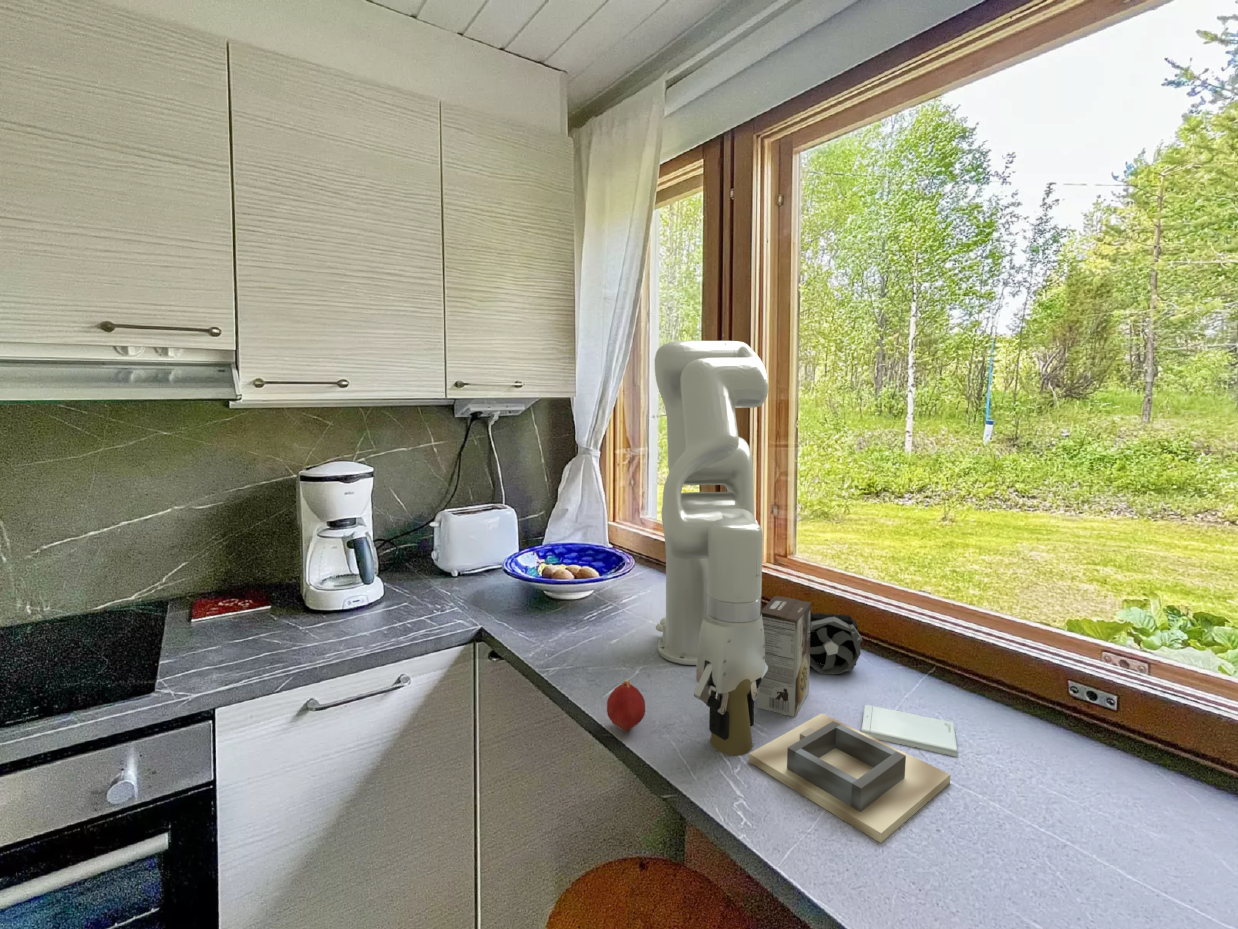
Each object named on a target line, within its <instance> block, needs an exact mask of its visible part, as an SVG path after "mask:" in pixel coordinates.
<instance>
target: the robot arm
mask: <svg viewBox="0 0 1238 929" xmlns="http://www.w3.org/2000/svg"><path fill="white" fill-rule="evenodd" d="M767 373H768V372H767V369H766V367H765V365H764V363H763V361H762V359H761V358H760V357H759V355H758V354H757V353H756V352H755V351H754V350H753V348H751V347H750V346H749V344H747V343H746V342H743V341H740V340H739V341H737V340H678V341H677V340H676V341H670V342H666V343H664V344H663V345H661V346H659V348H657V351H656V352H655V357H654V374H655V382H656V385H657V390H658V392H659V395H660V397H661V400H662V402H663V405H664V408H665V410H664V411H665V413H666V429H667V430H666V431H667V432H666V433H667V434H666V438H667V444H666V445H667V463H668V464H667V465H668V474H667V477H666V479H665V482H664V484H663V492H662V507H661V522H662V529H663V535H664V543H665V544H664V547H665V617H662V618H661V619H660V621H659V623H657V624H656V625H655V629H656V631H658V632H660V633H662V639H661V640H660V641H659V642H658V643H657V652H658V654H659V655H660V656H661V658H664V659H665V660H667V661H669V662H672V663H675V664H679V665H687V666H688V665H689V666H696V667H695V668H696V671H695V673H696V674H695V679H696V683H697V685H696V687H695V690H694V692H693V696H694V697H695V698H696V699H698V700H700V701H702V702H703V703H704V704H705V706H706V707H707V708H709V723H708V724H709V726H708V727H709V728H708V730H709V731H710V733H713V734H715V735H717V736H718V737H720V738H722V739H723V740H726V739H728V737H729V713H728V712H727V711H726V707H727V702H728V696H729V692H730V691H732V690H735V689H736V687H737V686H738V684H739V683H740V682H741V681H743V680H744V679H749V680H750V681H751V688H750V691H749V693H748V694H747V701H748V710H749V719H750V727H753V726H754V725H755V724H754V723H755V700H756V699H757V698H758V687H759V685H760V683H761V679H762V678H763V676H764V675H765V673H766V672H767V670H768V666H767V664H766V663H765V636H764V626H763V619H762V614H761V610H762V586H763V582H762V580H763V578H762V577H763V548H764V546H763V543H764V541H763V540H764V538H763V537H764V535H763V533H764V532H763V529H762V527H761V525H760V524H759V523H758V520H757V519H756V518H755V505H754V504H755V502H754V470H753V468H754V467H753V456H752V452H751V449H750V446H749V444H748V443H747V441H746V440H745V439H744V438H743V437H740V436H739V431H738V430H739V429H738V425H737V415H736V414H737V413H736V408H737V409H739V408H742V409H743V408H745V409H747V408H749V409H750V408H751V409H752V408H753V409H754V408H759V407H761V406H763V404H764V402H766V400H767V397H768V392H769V378H768V374H767ZM683 485H684V486H714V485H715V486H718V485H719V486H720V485H721V486H725V488H726V491H693V492H692V491H690V492H682V489H683V487H684V486H683ZM717 694H721V695H720V699H719V701H718V700H717Z"/></svg>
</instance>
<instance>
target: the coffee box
mask: <svg viewBox="0 0 1238 929" xmlns="http://www.w3.org/2000/svg"><path fill="white" fill-rule="evenodd" d="M811 612H812V602H811V601H804V600H800V599H798V598H791V597H786V596H779V595H775V596H774V595H773V597H772V598H771V599H770V600H769V601H768V603H766V605H765V606H764V607H763V608H761V614H762V619H763V626H764V636H765V663H766V664H767V666H768V670H767V672H766V673H765V675H764V676H763V678H762V679H761V683H760V685H759V687H758V689H757V693H758V694H757V708H760V709H762V710H767V711H770V712H775V713H778V714H781V715H786V716H789V717H792V718H796V716H797V715H798V714H799V712H800V709H801V708H802V707H803V704H804V702H805V700H806V698H807V696H808V695H809V693H810V667H811V666H810V630H811Z"/></svg>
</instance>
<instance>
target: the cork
mask: <svg viewBox="0 0 1238 929" xmlns="http://www.w3.org/2000/svg"><path fill="white" fill-rule="evenodd" d="M750 688H751V681H750V680H749V679H744V680H743V681H741V682H740V683H739V684H738V686H737V687H736V689H735V690H732V691H730V692H729V696H728V702H727V707H726V711H727V712H728V713H729V737H728V739H726V740H723V739H722V738H720V737H718V736H717V735H715V734H713V733H712V732H710V734H711V735H710V745H711V747H712V748H713V749H714V750H715V751H717V752H719V753H721V754H723V755H727V756H737V757H738V756H744V755H746V754H749V753H750V751H751V750H752V749H753V739H752V738H753V736H752V730H751V727H752V726H751V727H750V719H749V710H748V701H747V694H748V693H749V691H750ZM720 695H721V694H718V693H716V699H717V700H718V701H719V699H720Z"/></svg>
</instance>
